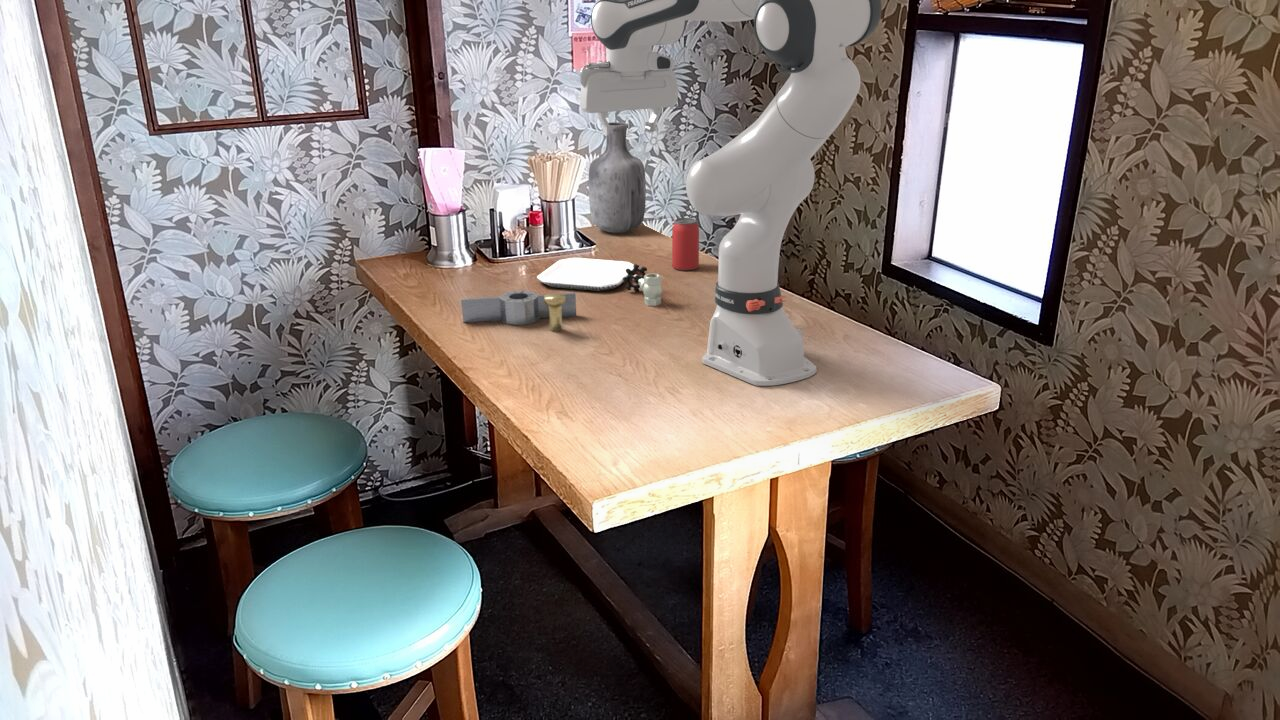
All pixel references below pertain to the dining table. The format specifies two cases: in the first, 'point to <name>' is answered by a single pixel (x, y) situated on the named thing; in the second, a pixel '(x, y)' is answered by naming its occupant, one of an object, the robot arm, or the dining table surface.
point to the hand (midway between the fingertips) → (629, 133)
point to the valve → (645, 285)
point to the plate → (585, 274)
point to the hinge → (513, 308)
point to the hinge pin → (555, 310)
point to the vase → (617, 185)
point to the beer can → (685, 244)
